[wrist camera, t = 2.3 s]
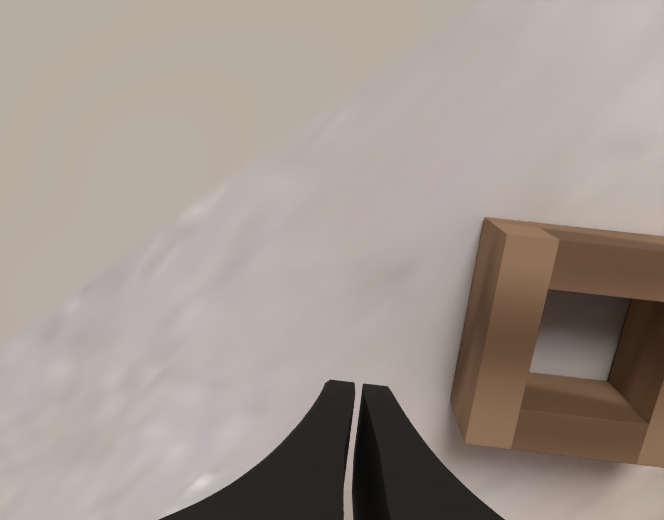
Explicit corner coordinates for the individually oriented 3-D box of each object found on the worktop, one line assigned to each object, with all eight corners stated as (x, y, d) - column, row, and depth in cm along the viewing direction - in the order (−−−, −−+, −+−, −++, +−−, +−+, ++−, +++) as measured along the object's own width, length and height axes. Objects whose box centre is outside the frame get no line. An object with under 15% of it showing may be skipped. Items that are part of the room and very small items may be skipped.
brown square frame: (638, 421, 21) (683, 470, 18) (450, 399, 21) (464, 443, 18) (695, 240, 18) (757, 261, 16) (484, 217, 19) (507, 234, 16)
